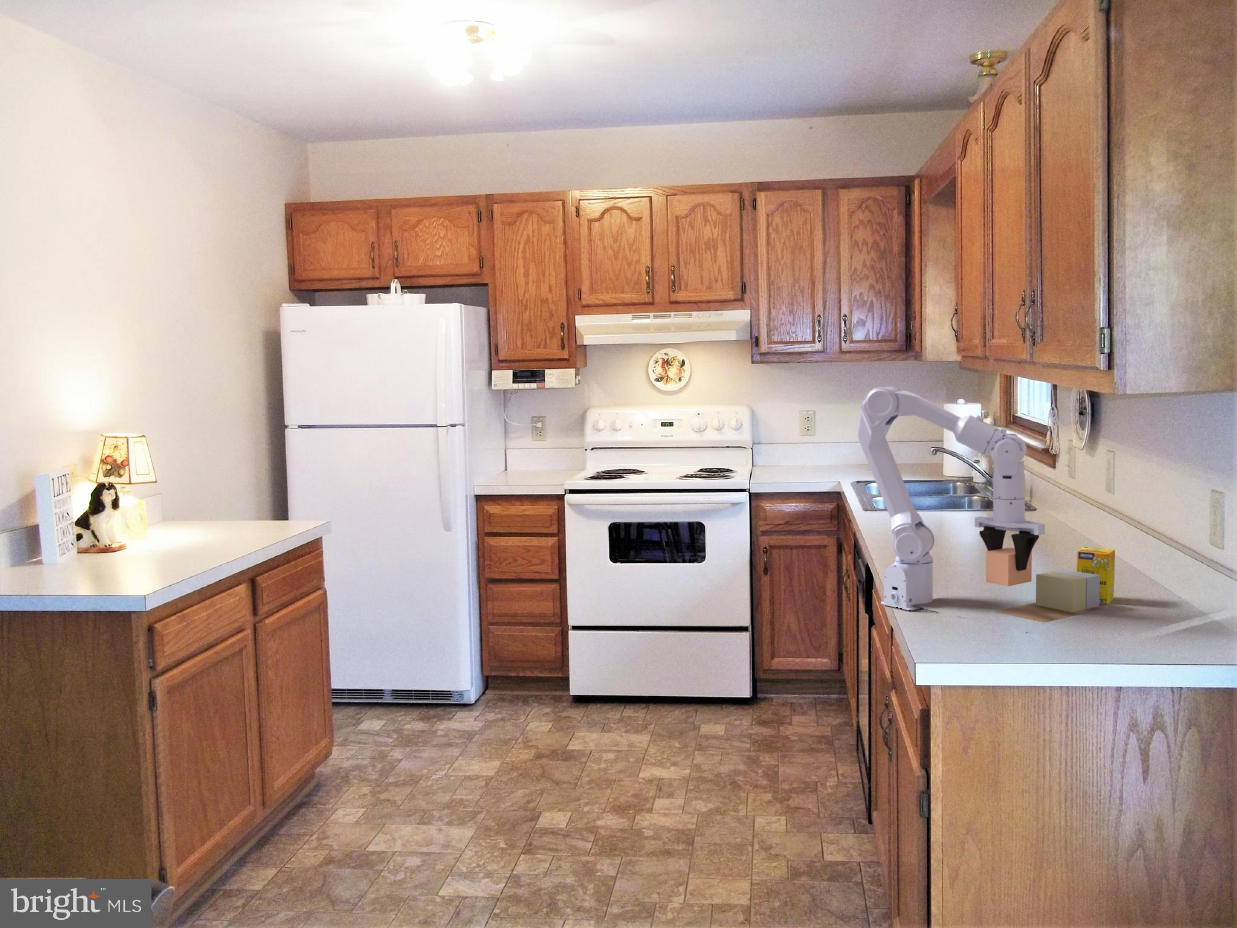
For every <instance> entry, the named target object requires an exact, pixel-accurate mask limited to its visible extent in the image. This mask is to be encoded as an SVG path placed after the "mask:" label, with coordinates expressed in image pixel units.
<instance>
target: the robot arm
mask: <svg viewBox="0 0 1237 928" xmlns="http://www.w3.org/2000/svg"><path fill="white" fill-rule="evenodd" d="M910 416H916V417H918V418H921V419H923V420H925V421H927V422H929V423H932V424H933V425H935V426H938V427H940V428H943V429H945V430H947V431H950V432H952V433H953V435H954V438H955V440H956V442H957V443H959V444H961V445H963V446H964V447H968V449H971V450H973V451H975V452H977V453H980V454H981V455H984V456H985V457H988V456H990V457H991V459H992V461H993V463H994V464H993V466H994V467H993V468H994V469H993V471H994V472H993V475H992V480H993V482H992V483H993V485H992V487H993V490H992V492H993V493H992V494H993V497H992V499H993V500H992V503H993V505H992V509H993V510H992V511H993V512H992V513H993V515H992V516H993V517H992V516H991V517H990V516H977V517H974V528H983V529H982V530H980V531H979V534H978V535H979V536H980V538H981V539H982V540H983V543H984V545H985V547H986V549H987V551H992V550H998V549H1004V547H1003V546H1004V540H1005V536H1006V533H1007V531H1008V532H1017V533H1013V534H1011V535H1010V536H1011V539H1012V543H1013V548H1015V560H1016V570H1017V571H1022V570H1026V567H1027V563H1028V560H1029V556H1030V554H1031V551H1032V552H1033V548H1034V547H1035V545H1036V543H1037V541H1038V540H1039V538H1040V536H1042V535H1045V534H1046V523H1039V522H1034V521H1032V520H1031V521H1030V520H1027V519H1026V515H1025V512H1026V474H1025V461H1024V458H1025V456H1026V454H1027V445H1026V443H1025V441H1024V440H1023V439H1022V438H1021V437H1020V436H1019V435H1018V434H1016V433H1007V431H1008V430H1007V429H1006V428H1004V427H1001V428H998V427H996V426H994V425H992V424H990V423H989V422H986V421H984V419H985V418H984V417H983V416H980V415H979V414H978V415H976V416H973V415H970V414H969V415H967V416H964V417H960V416H958V415H956V414H954V413H953V412H950V411H949V410H947V409H946V408H943V407H942V406H940V405H937V404H935V403H934V402H932V401H930V400H928V399H926V398H924V397H922V396H920V395H918V394H915V393H913V392H911V391H908V390H902V389H901V388H900V387H897V386H894V385H887V386H885V387H875V388H873V389H872V390H870V391H869V392H868V393H867V395H866V396H865V398H864V400H863V401H862V402H861V405H860V417H859V418H860V419H859V423H858V424H859V425H858V431H857V438H858V442H859V444H860V447H861V449H862V451H863V454H864V456H865V458H866V461H867V464H868V466H869V468H870V471H871V474H872V477H873V479H874V481H875V483H876V486H877V488H878V491H879V493H880V495H881V498H882V501H883V503H884V505H885V507H886V511H887V514H888V516H889V518H890V529H891V532H892V536H893V551H894V553H895V554H896V556H895V560H894V562H893V563H892V564H890V565H887V567H886V568H885V570H884V574H883V601H881V602H880V605H885V606H888V607H893V608H896V607H898V608H897V609H900V608H902V610H905V611H909V610H911V611H916V609H917V610H921V609H923V607H921V606H917V605H922V604H929V603H932V602H933V601H934V598H933V597H934V587H933V586H934V573H933V572H934V562H933V561H934V558H933V556H932V555H931V553H930V551H931V550H932V549H933V547H934V546H935V545H934V544H935V535H934V533H933V531H932V529H930V528H929V527H928V526H927V525H926V524H925V523H924V521H923V518H922V516H921V515H920V513H918V511H917V510H916V509H915V506H914V503H913V501H912V500H911V496H910V494H909V492H908V489H907V486H906V485H905V482H904V480H903V477H902V474H901V472H900V470H899V467H898V464H897V463H896V460H895V457H894V455H893V453H892V450H891V448H890V446H889V443H888V441H887V437H886V436H887V434H888V432H889V430H890V429H891V426H892V424H893V422H894V421H895V420H896V419H897V418H898V417H910ZM920 608H921V609H920Z"/></svg>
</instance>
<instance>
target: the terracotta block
mask: <svg viewBox="0 0 1237 928" xmlns="http://www.w3.org/2000/svg"><path fill="white" fill-rule="evenodd" d="M985 552H986V555H985V556H986V557H985V558H986V565H985V568H986V569H985V571H986V572H985V581H986V582H985V583H988V584H993V585H994V584H995V585H998V586H1004V587H1005V586H1006V587H1011V586H1017V585H1022V584H1026V583H1031V582H1032V580H1033V579H1032V575H1033V574H1032V573H1033V572H1032V571H1033V570H1032V569H1033V568H1032V567H1033V565H1032V564H1033V557H1032V556H1033V550H1032V551H1031V554H1030V556H1029V560H1028V563H1027V567H1026V570H1022V571H1017V570H1016V560H1015V548H1014V547H1006V548H1004V547H1003V549H998V550H992V551H988V550H987V551H985Z"/></svg>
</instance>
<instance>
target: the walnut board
mask: <svg viewBox="0 0 1237 928" xmlns="http://www.w3.org/2000/svg"><path fill="white" fill-rule="evenodd" d="M1108 608H1109V606H1106V605H1101V604H1099V606H1098V607H1094V608H1089V609H1085V610H1081V611H1076V612H1068V611H1063V610H1058V609H1053V608H1048V607H1043V606H1038V605H1036V601H1035V602H1031V603H1026V604H1023V605H1021V604H1020V605H1018V606H1013V607H1009V608H1004V609H1003V608H1002V609H999V610H994V611H993V612H995V613H998V614H1002V615H1008V616H1012V617H1017V618H1022V619H1025V620H1031V621H1036V622H1041V623H1048V622H1052V621H1056V620H1061V619H1064V618H1069V617H1073V616H1076V615H1077V616H1078V615H1081V614H1085V613H1086V614H1087V613H1091V612H1095V611H1099V610H1103V609H1108Z"/></svg>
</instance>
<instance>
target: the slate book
mask: <svg viewBox="0 0 1237 928" xmlns="http://www.w3.org/2000/svg"><path fill="white" fill-rule="evenodd" d="M1050 572H1052V573H1058V574H1064V575H1070V576H1076V577H1082V578H1086V609H1089V608H1094V607H1098V606H1099V605H1100V603H1099V596H1100V575H1095V574H1089V573H1083V572H1077V570H1076V571H1075V570H1070V569H1064V568H1063V569H1058V570H1054V571H1050Z"/></svg>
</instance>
